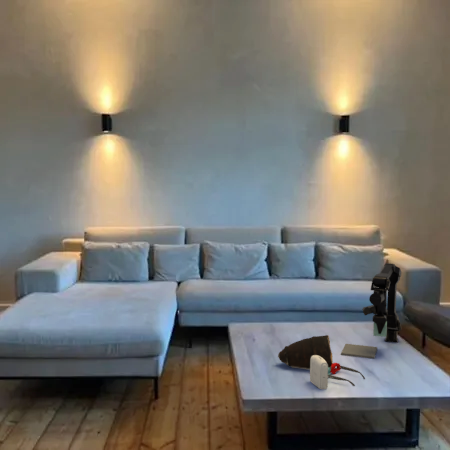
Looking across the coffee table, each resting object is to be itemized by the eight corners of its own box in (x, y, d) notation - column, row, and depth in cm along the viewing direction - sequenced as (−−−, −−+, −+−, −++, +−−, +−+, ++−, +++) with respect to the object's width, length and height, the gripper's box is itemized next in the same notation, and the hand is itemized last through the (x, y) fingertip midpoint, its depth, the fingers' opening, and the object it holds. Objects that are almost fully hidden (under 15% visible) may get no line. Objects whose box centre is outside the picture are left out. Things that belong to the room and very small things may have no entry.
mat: (345, 345, 274) (345, 343, 273) (377, 348, 268) (377, 346, 268) (340, 355, 259) (341, 353, 259) (374, 358, 253) (374, 356, 253)
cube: (374, 332, 263) (374, 320, 262) (386, 333, 261) (386, 321, 260) (373, 335, 257) (373, 323, 256) (386, 336, 255) (386, 324, 254)
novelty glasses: (336, 371, 238) (336, 360, 237) (366, 378, 228) (367, 367, 228) (321, 380, 227) (321, 369, 227) (352, 388, 218) (352, 377, 217)
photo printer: (329, 389, 216) (329, 360, 215) (319, 390, 215) (320, 361, 214) (317, 380, 226) (317, 352, 225) (308, 381, 225) (308, 353, 224)
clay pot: (275, 336, 250) (327, 328, 246) (281, 365, 253) (333, 358, 249) (274, 350, 236) (329, 342, 232) (280, 380, 239) (335, 373, 234)
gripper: (365, 296, 269) (364, 325, 270) (362, 304, 251) (361, 335, 253) (387, 297, 265) (387, 327, 266) (386, 305, 248) (385, 337, 249)
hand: (380, 332), depth 259 cm, fingers closed on cube, 6 cm apart
